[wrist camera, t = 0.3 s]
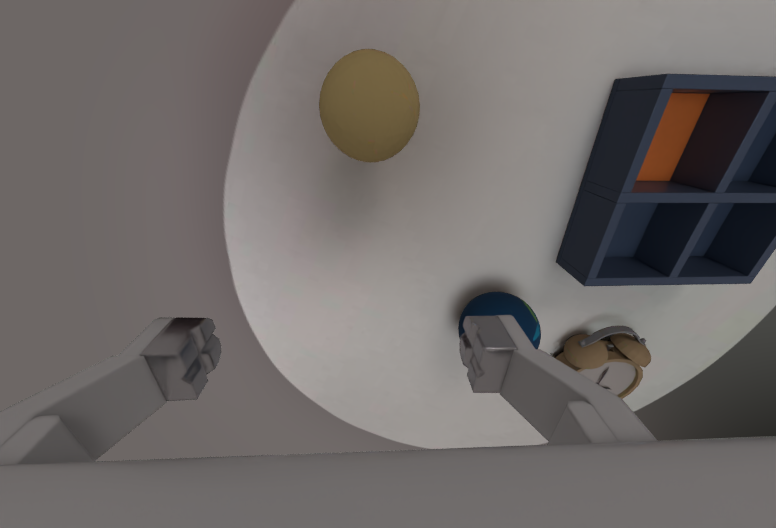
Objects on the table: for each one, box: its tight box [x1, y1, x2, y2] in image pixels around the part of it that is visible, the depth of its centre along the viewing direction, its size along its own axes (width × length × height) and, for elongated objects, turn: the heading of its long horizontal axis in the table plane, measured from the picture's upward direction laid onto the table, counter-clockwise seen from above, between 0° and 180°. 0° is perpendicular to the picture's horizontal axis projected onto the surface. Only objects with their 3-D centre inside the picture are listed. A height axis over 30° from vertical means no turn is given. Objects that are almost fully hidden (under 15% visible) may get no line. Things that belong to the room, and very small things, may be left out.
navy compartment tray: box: [556, 74, 776, 286], centre depth 28 cm, size 18×18×5 cm
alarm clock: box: [555, 326, 651, 399], centre depth 40 cm, size 11×5×15 cm
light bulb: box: [319, 49, 420, 162], centre depth 21 cm, size 6×6×10 cm
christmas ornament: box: [458, 292, 541, 349], centre depth 32 cm, size 8×8×10 cm
